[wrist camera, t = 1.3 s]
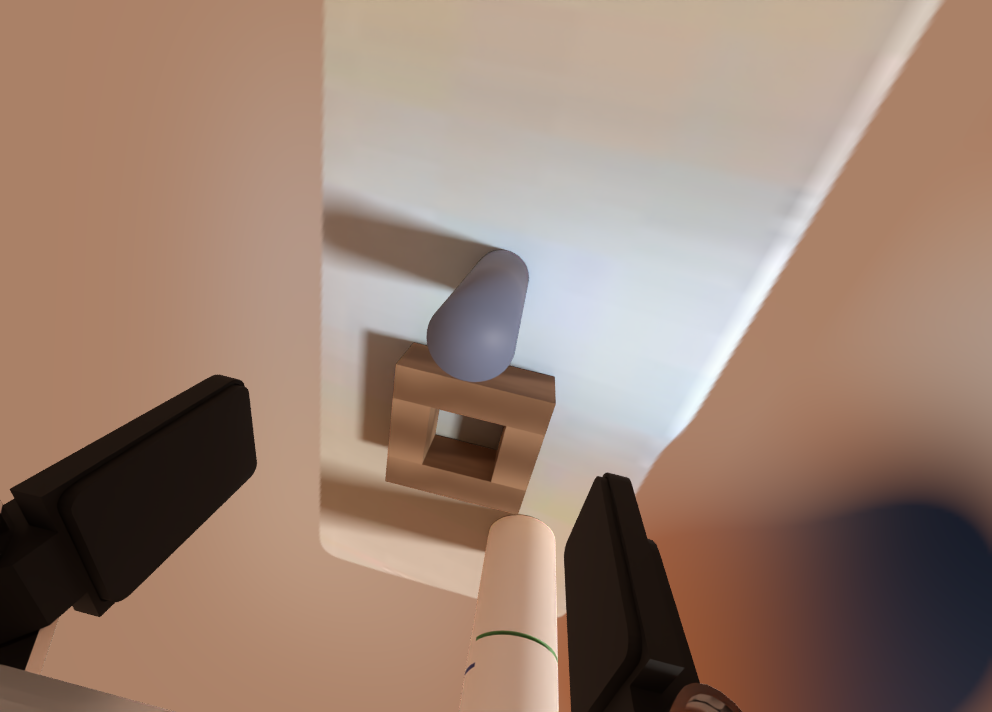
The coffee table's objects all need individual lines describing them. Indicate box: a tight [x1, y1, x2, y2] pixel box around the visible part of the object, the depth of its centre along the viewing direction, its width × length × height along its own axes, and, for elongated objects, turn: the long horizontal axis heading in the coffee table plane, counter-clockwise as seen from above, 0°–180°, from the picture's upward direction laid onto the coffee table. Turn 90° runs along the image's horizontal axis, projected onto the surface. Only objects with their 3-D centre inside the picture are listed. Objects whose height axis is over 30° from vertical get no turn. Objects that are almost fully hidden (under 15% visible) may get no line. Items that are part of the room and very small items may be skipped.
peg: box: [427, 250, 529, 382], centre depth 21 cm, size 4×4×12 cm
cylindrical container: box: [459, 515, 559, 712], centre depth 27 cm, size 7×7×25 cm
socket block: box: [385, 343, 556, 515], centre depth 31 cm, size 12×12×4 cm
